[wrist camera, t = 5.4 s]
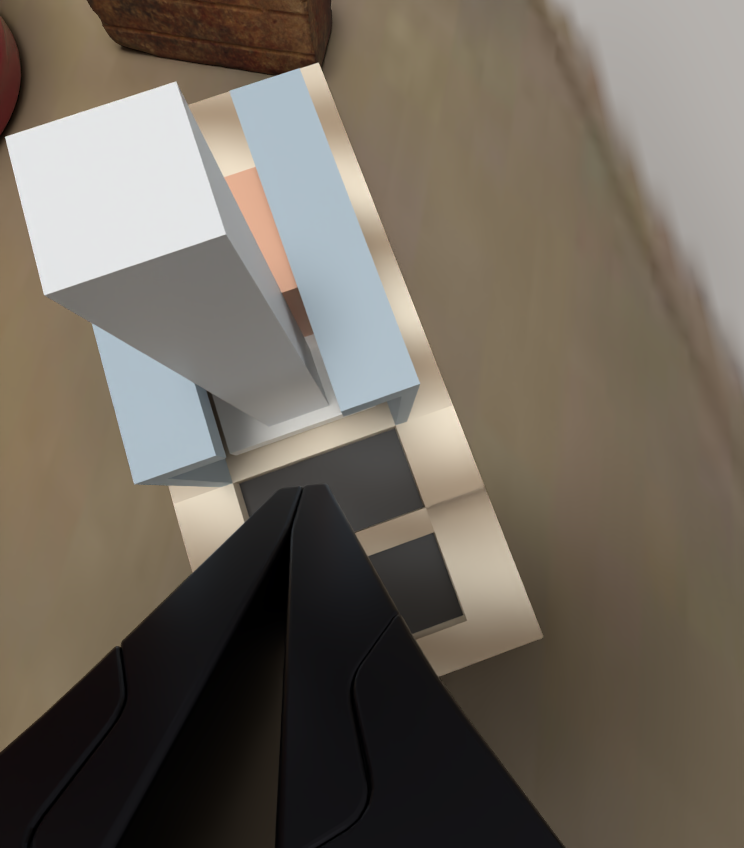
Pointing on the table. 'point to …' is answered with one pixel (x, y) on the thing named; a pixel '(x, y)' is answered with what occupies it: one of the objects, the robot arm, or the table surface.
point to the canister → (8, 74)
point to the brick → (223, 31)
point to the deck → (379, 461)
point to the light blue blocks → (317, 283)
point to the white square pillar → (174, 259)
